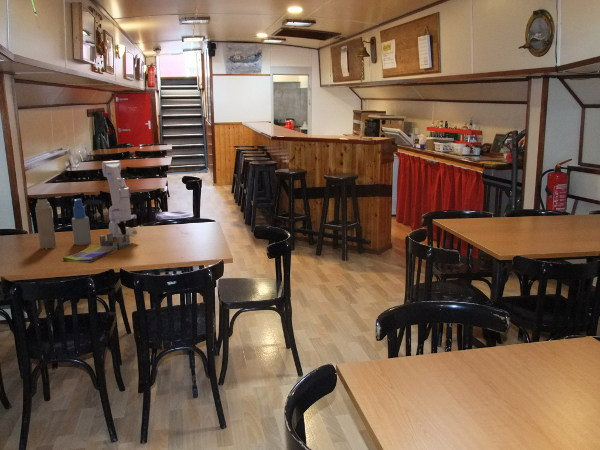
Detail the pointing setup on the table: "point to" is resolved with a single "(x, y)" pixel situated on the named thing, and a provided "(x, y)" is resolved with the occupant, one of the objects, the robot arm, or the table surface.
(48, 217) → the thermos bottle
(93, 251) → the dish towel
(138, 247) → the table surface
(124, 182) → the robot arm
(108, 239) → the roll holder
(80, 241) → the spray bottle
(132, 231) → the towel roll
